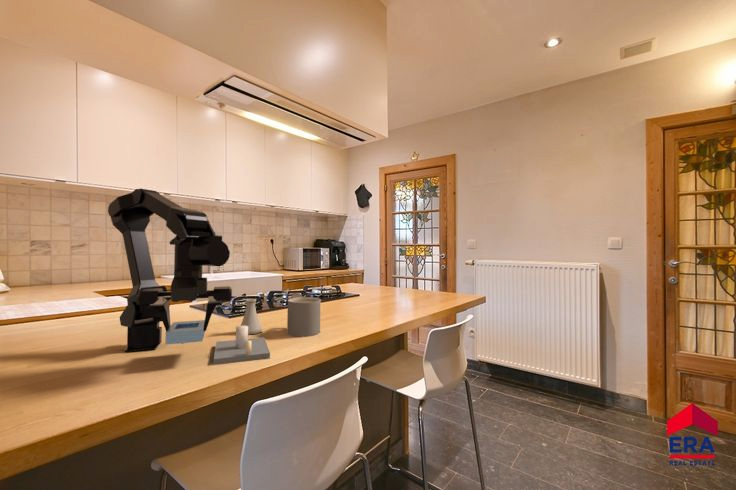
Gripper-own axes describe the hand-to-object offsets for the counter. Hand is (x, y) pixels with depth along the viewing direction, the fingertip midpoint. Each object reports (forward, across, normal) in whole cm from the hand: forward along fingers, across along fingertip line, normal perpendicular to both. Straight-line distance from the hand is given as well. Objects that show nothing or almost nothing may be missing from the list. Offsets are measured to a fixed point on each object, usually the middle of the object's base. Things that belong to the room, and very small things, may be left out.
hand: (187, 332), depth 75 cm
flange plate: (+1, 0, 0) cm, 1 cm away
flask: (+6, +15, +20) cm, 26 cm away
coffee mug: (+6, +30, +16) cm, 35 cm away
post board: (+6, +12, +1) cm, 13 cm away
